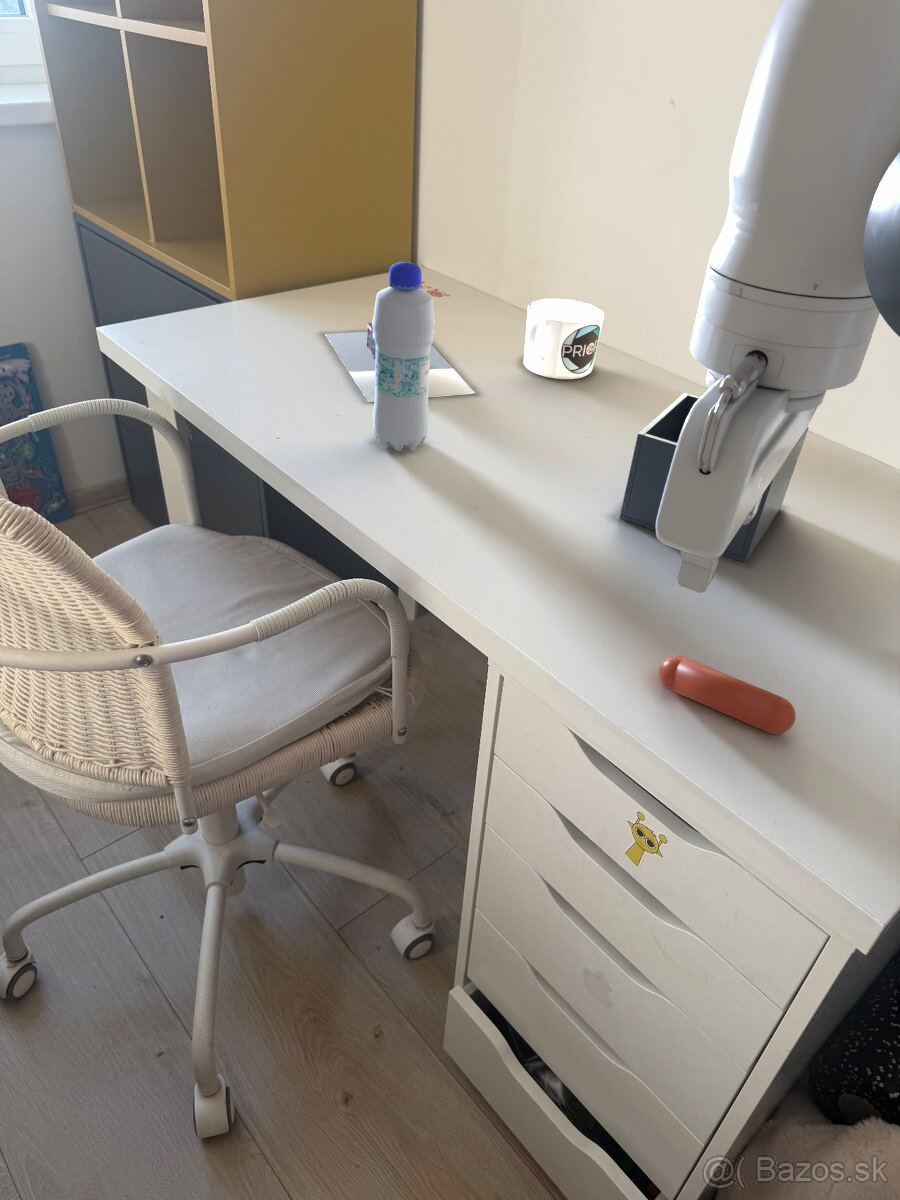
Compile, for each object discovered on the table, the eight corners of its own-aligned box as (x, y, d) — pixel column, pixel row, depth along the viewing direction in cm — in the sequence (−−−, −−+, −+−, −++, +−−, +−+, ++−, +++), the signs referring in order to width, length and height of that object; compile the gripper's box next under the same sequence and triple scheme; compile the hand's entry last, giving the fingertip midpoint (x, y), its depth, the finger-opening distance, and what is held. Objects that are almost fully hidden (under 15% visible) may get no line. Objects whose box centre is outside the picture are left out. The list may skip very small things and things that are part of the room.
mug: (548, 347, 125) (556, 292, 120) (608, 368, 119) (618, 311, 115) (493, 369, 116) (499, 311, 111) (555, 392, 111) (564, 332, 106)
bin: (780, 508, 89) (809, 427, 84) (744, 562, 80) (774, 475, 74) (664, 471, 94) (684, 392, 89) (619, 518, 85) (637, 433, 80)
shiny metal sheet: (368, 402, 104) (368, 369, 102) (324, 334, 123) (324, 305, 120) (475, 393, 109) (478, 362, 106) (417, 329, 127) (419, 301, 125)
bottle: (427, 457, 93) (437, 274, 81) (368, 453, 93) (369, 269, 81) (430, 431, 99) (439, 256, 87) (373, 427, 99) (375, 251, 87)
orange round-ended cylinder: (792, 725, 62) (805, 698, 61) (783, 747, 60) (795, 720, 59) (662, 670, 66) (670, 643, 65) (649, 689, 65) (657, 662, 63)
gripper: (794, 406, 35) (717, 654, 44) (874, 299, 50) (804, 500, 58) (655, 372, 38) (606, 612, 46) (769, 279, 52) (716, 475, 60)
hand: (717, 549), depth 52 cm, fingers open, 8 cm apart
